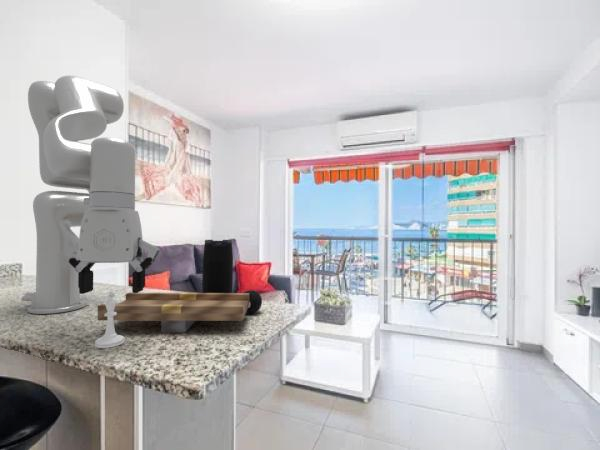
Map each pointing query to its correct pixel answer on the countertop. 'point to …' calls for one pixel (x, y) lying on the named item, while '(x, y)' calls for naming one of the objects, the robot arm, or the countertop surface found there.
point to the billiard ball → (254, 301)
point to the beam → (180, 308)
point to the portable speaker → (217, 267)
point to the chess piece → (110, 327)
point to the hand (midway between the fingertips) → (112, 292)
